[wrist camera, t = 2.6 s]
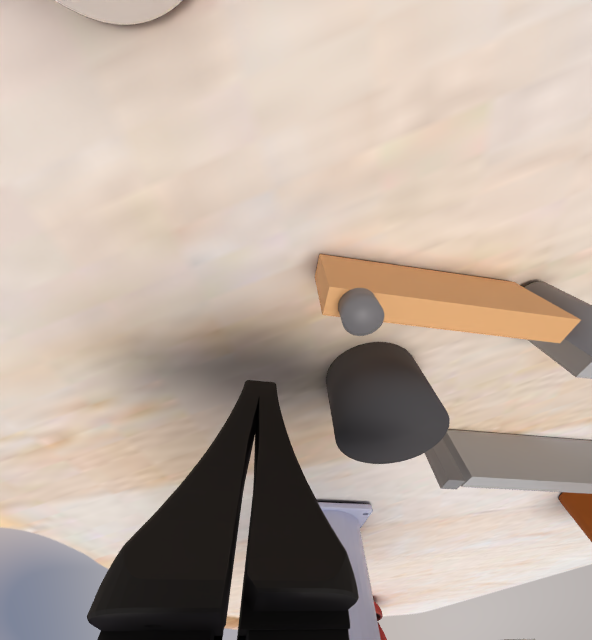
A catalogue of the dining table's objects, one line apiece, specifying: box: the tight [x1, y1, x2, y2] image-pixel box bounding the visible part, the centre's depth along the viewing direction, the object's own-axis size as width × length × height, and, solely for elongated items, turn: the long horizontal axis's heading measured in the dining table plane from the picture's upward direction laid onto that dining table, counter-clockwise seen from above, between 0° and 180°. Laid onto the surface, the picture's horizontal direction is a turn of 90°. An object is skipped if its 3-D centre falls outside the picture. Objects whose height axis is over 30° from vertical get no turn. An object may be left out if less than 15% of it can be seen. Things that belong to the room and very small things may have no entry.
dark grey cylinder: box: [326, 342, 449, 464], centre depth 13 cm, size 5×5×4 cm
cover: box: [315, 254, 592, 357], centre depth 9 cm, size 10×1×4 cm, turn 81°
